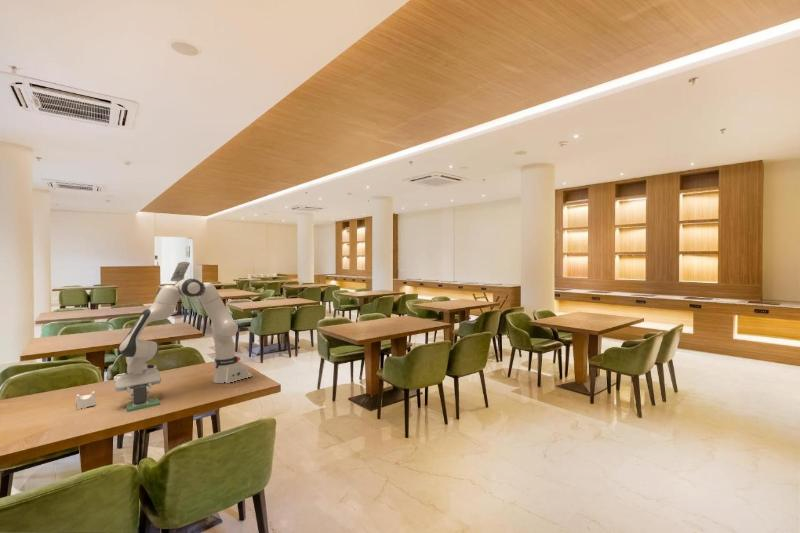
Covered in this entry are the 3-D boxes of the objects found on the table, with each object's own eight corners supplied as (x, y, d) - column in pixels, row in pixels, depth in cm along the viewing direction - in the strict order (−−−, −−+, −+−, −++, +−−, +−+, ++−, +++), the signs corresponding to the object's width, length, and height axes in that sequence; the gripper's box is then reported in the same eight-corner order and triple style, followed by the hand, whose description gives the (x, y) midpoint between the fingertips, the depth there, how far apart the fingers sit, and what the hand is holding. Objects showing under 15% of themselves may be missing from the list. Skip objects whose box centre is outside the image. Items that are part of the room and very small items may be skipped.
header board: (156, 398, 208) (156, 391, 208) (160, 404, 200) (159, 397, 200) (125, 405, 199) (125, 398, 199) (127, 411, 191) (127, 404, 191)
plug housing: (146, 399, 202) (145, 384, 202) (146, 401, 199) (146, 386, 199) (133, 402, 198) (132, 387, 198) (134, 404, 196) (133, 388, 195)
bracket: (95, 406, 199) (94, 392, 199) (77, 410, 195) (76, 396, 194) (93, 400, 209) (93, 386, 209) (76, 403, 204) (76, 389, 204)
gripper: (113, 372, 197) (115, 395, 190) (159, 364, 210) (163, 386, 203) (113, 378, 201) (115, 402, 193) (158, 370, 214) (161, 392, 206)
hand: (140, 393), depth 198 cm, fingers closed on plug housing, 6 cm apart
